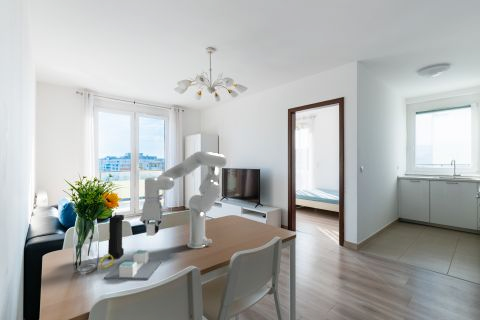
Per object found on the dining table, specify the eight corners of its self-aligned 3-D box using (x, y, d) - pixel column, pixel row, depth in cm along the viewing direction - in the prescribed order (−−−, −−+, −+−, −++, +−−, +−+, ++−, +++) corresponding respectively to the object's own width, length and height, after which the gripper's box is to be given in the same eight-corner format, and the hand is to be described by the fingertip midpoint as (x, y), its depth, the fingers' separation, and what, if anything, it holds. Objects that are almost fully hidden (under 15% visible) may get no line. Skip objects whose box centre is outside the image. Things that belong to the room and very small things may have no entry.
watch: (102, 270, 112) (101, 258, 112) (99, 268, 114) (98, 256, 114) (114, 264, 117) (113, 253, 117) (112, 263, 119) (111, 252, 118)
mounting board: (161, 262, 121) (162, 249, 121) (147, 279, 103) (147, 265, 103) (124, 261, 121) (124, 249, 121) (103, 279, 103) (103, 265, 103)
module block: (158, 231, 130) (157, 221, 130) (153, 235, 124) (153, 224, 124) (151, 231, 130) (150, 221, 130) (146, 235, 124) (146, 224, 124)
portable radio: (113, 253, 131) (113, 210, 131) (124, 253, 132) (124, 210, 132) (106, 259, 123) (107, 213, 123) (118, 259, 124) (118, 213, 124)
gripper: (169, 198, 131) (169, 230, 131) (140, 198, 131) (140, 230, 131) (164, 200, 123) (165, 234, 124) (134, 201, 124) (134, 234, 124)
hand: (152, 232), depth 127 cm, fingers closed on module block, 4 cm apart
